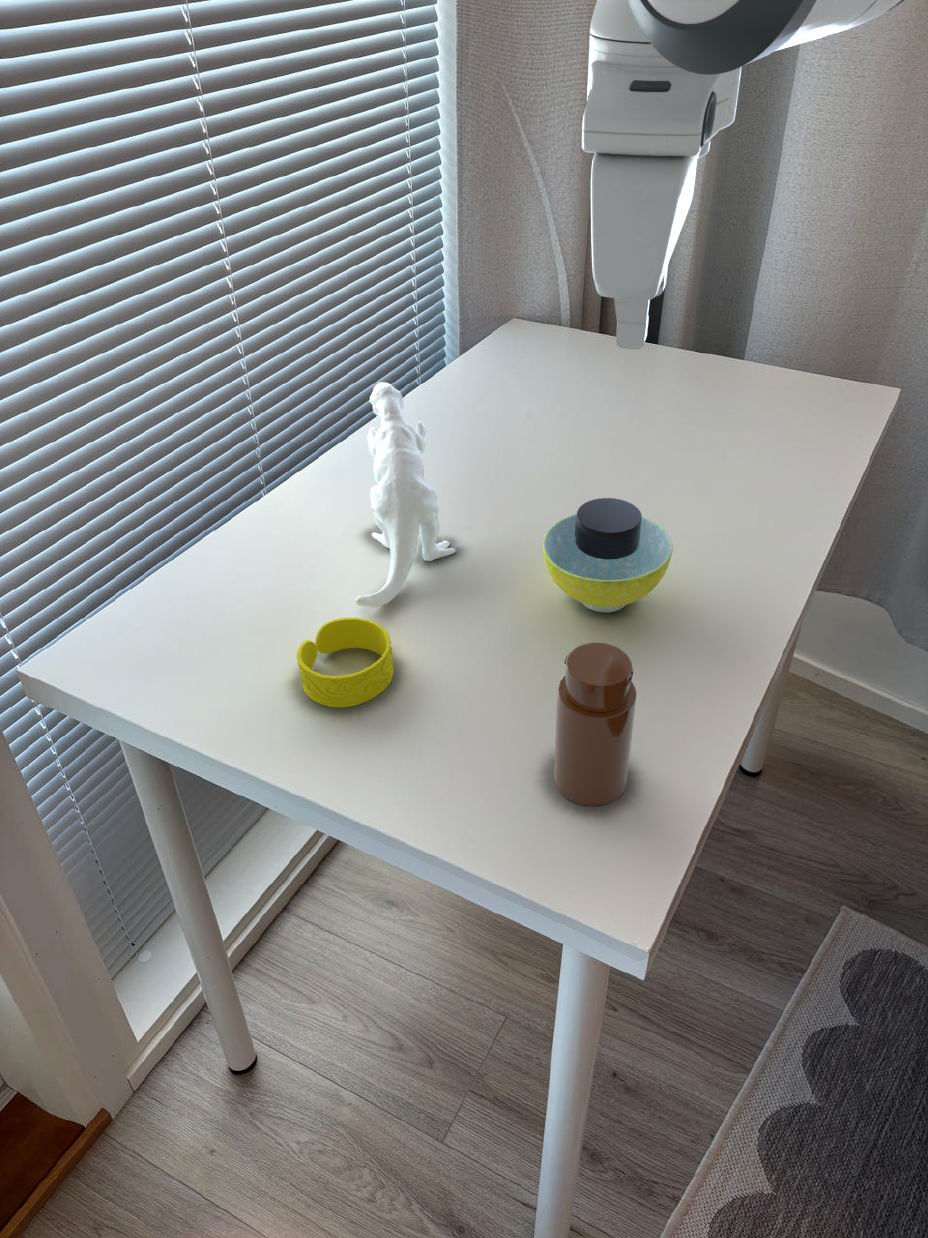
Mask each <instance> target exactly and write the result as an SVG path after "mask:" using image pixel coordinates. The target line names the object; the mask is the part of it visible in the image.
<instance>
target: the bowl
mask: <svg viewBox="0 0 928 1238" xmlns="http://www.w3.org/2000/svg"><path fill="white" fill-rule="evenodd" d="M576 516H577V512H576V513H573V514H570V515H567V516H565V517H563V518H561V519H559V520H558V521H557V522H555V523H554V524H552V525H551V526H550V527H549V529H548V530H547V531H546V533H545V535H544V537H543V540H542V552H543V553H542V554H543V560H544V563H545V566H546V568H547V571H548V574H549V575H550V577H551V579H552V581H553V582H554V583H555V585H556V586H557V587H558V588H559V589H560V590H561V591H562V592H563V593H564V594H566V595H567V596H569V597H570V598H572V599H573V600H575V601H577V602H580V603H581V604H582V606H584V607H585V608H586V609H588V610H591V611H593V612H598V613H613V612H617V611H620V610H622V609H623V608H624V607H626V606H627V605H630V604H633V603H635V602H638V601H640V600H641V599H642V598H644V597H646V596H647V595H649V594H650V593H651V592H652V591H653V590H654V589H655V588H656V587H657V586H658V585H659V584H660V582H661V581H662V579H663V577H664V576H665V575H666V572H667V570H668V568H669V565H670V562H671V559H672V555H673V551H674V550H673V547H674V546H673V542H672V539H671V536H670V535H669V534H668V533H667V531H666V530H665V529H664V528H663V527H661V526H660V525H659V524H658V523H656V522H654V521H653V520H651V519H649V518H647V517H645V516H642V521H641V531H640V541H639V546H638V548H637V550H636V551H635V552H634V553H633V554H631V555H629V556H627V557H624V558H621V559H612V560H606V559H598V558H594V557H591V556H589V555H587V554H585V553H583V552H582V551H581V550H580V549H579V548H578V547H577V545H576V542H575V525H576Z"/></svg>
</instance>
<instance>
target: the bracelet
mask: <svg viewBox="0 0 928 1238" xmlns="http://www.w3.org/2000/svg"><path fill="white" fill-rule="evenodd" d="M391 645H392V641H391V636H390V634H389V632H388V630H386V629H385V627H383V626H382V625H381V624H379V623H377V622H375V621H373V620H369V619H366V618H362V617H339V618H335V619H332V620H329V621H327V622H325V623H323V625H321V627H319V630H318V631H317V633H316V636H315V642H313V641H312V640H309V639H306V640H303V641H302V642H301V644H300V645H299V647H298V649H297V651H296V661H297V665H298V668H299V669H298V670H299V674H300V680H301V685H302V689H303V692H304V694H305V695H306V696H307V697H308V698H309V699H311V700H312V701H313V702H315V703H317V704H320V705H322V706H325V707H329V708H349V707H354V706H358V705H362V704H365V703H366V702H369V701H371V700H372V699H374V698H376V697H377V696H378V695H380V694H381V693H383V692H384V691H385V690H386V689H387V687H388V686H389V685H390V684H391V682H392V680H393V676H394V665H393V664H394V663H393V661H394V660H393V652H392V650H393V649H392V646H391ZM345 649H346V650H347V649H365V650H369V651H371V652H373V653H376V654H378V655H379V656H380V657H379V659H378V660H376V661H375V662H373V663H371V665H370V666H368V667H365V668H364V669H361V670H359V671H357V672H353V673H350V674H344V675H342V674H341V675H328V674H323V673H319V672H317V671H314V670H313V669H312V668H313V667H314V664H315V663H316V660H317V657H318V653H320V654H325V655H327V654H332V653H334V652H338V651H340V650H345Z"/></svg>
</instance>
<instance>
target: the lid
mask: <svg viewBox="0 0 928 1238" xmlns="http://www.w3.org/2000/svg"><path fill="white" fill-rule="evenodd" d="M576 513H577V516H576V525H575V542H576V545H577V547H578V548H579V549H580V550H581V551H582V552H583V553H585V554H587V555H589V556H591V557H594V558H598V559H606V560H612V559H621V558H624V557H627V556H629V555H631V554H633V553H634V552H635V551H636V550H637V548H638V546H639V541H640V531H641V521H642V517H643V515H642V512H641V510H640V509H639V508H638V507H637V506H636V505H634V504H633V503H631V502H630V501H627V500H623V499H621V498H614V497H601V498H595V499H590V500H588V501H586V502H584V503H582V504H581V505H580V506H579V508H578V509H577V511H576Z"/></svg>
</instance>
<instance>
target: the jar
mask: <svg viewBox="0 0 928 1238" xmlns="http://www.w3.org/2000/svg"><path fill="white" fill-rule="evenodd" d="M563 664H564V665H565V674H564V675H563V676H562V677H561V679H560V681H559V683H558V685H557V695H556V717H555V719H556V720H555V721H556V722H555V741H554V743H555V745H554V764H553V765H554V766H553V781H554V784H555V786H556V788H557V790H558V791H559V792H560V794H561V795H562V796H563V797H565V798H566V799H568V800H569V801H571V802H573V803H576V804H578V805H582V806H588V807H598V806H604V805H607V804H610V803H612V802H614V801H616V800H618V798H619V797H621V796H622V794H623V793H624V792H625V789H626V786H627V782H628V775H629V774H628V773H629V764H630V757H631V747H632V738H633V730H634V728H633V727H634V721H635V720H634V719H635V713H636V712H635V711H636V703H637V689H636V686H635V684H634V682H633V681H632V680H633V676H634V667H633V663H632V660H631V657H630V656H629V654H628V653H626V652H625V651H624V650H623V649H622V648H620V647H618V646H616V645H614V644H610V643H605V642H588V643H584V644H581V645H578V646H576V647H575V648H573V649H572V650H571V651H569V652H568V654H567V655H566V656H565V660H564V663H563Z"/></svg>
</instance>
